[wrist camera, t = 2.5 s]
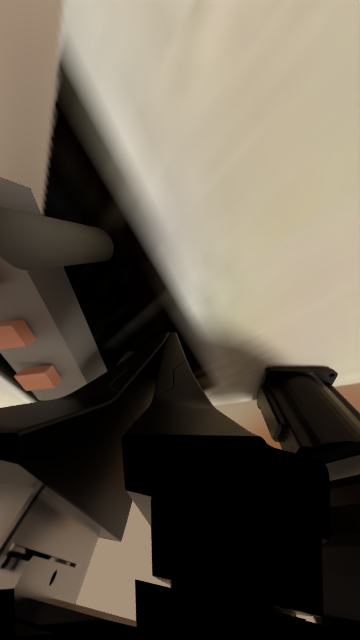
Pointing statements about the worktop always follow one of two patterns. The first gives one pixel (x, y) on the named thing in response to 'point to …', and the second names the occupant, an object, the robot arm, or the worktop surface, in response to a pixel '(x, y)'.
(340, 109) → the worktop surface
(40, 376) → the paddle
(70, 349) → the power strip
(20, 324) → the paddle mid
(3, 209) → the peg
